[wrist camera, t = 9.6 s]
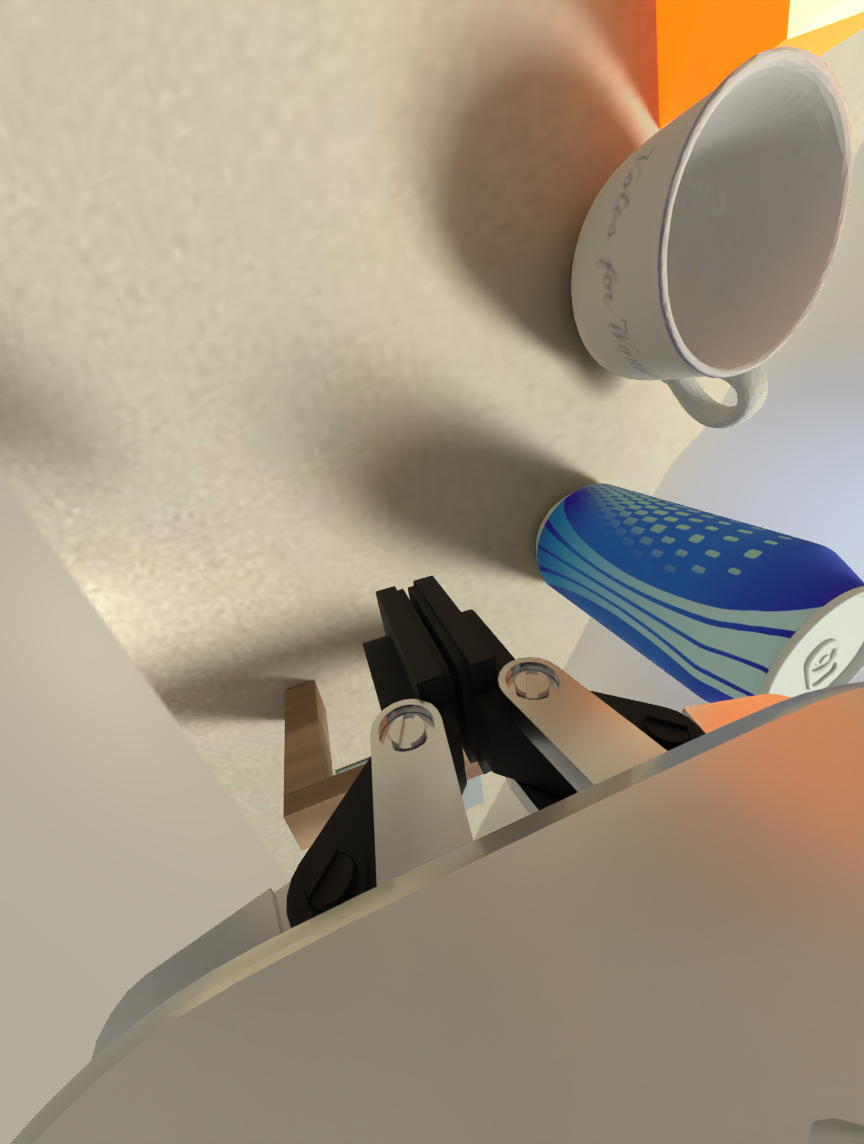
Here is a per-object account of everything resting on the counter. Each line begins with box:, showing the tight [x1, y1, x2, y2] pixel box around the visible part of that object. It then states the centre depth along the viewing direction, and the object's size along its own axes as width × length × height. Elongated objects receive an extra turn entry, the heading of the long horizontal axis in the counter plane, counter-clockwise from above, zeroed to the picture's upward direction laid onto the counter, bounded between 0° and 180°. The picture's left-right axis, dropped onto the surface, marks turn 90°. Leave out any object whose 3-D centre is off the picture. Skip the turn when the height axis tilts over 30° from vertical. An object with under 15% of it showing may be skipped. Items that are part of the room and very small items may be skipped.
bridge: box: [284, 681, 484, 850], centre depth 25 cm, size 3×14×9 cm, turn 98°
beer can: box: [536, 484, 864, 703], centre depth 22 cm, size 8×8×16 cm
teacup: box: [571, 46, 853, 428], centre depth 20 cm, size 14×11×8 cm
